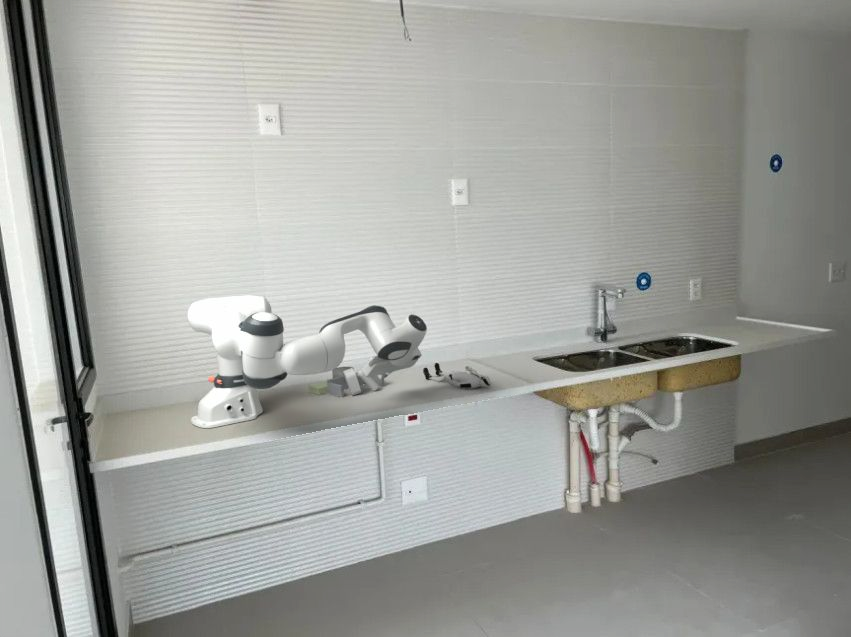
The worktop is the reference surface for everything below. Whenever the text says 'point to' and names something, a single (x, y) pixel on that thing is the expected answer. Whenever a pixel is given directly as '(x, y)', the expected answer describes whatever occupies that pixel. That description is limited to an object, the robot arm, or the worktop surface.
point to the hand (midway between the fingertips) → (382, 376)
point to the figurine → (459, 378)
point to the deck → (338, 383)
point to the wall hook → (353, 382)
